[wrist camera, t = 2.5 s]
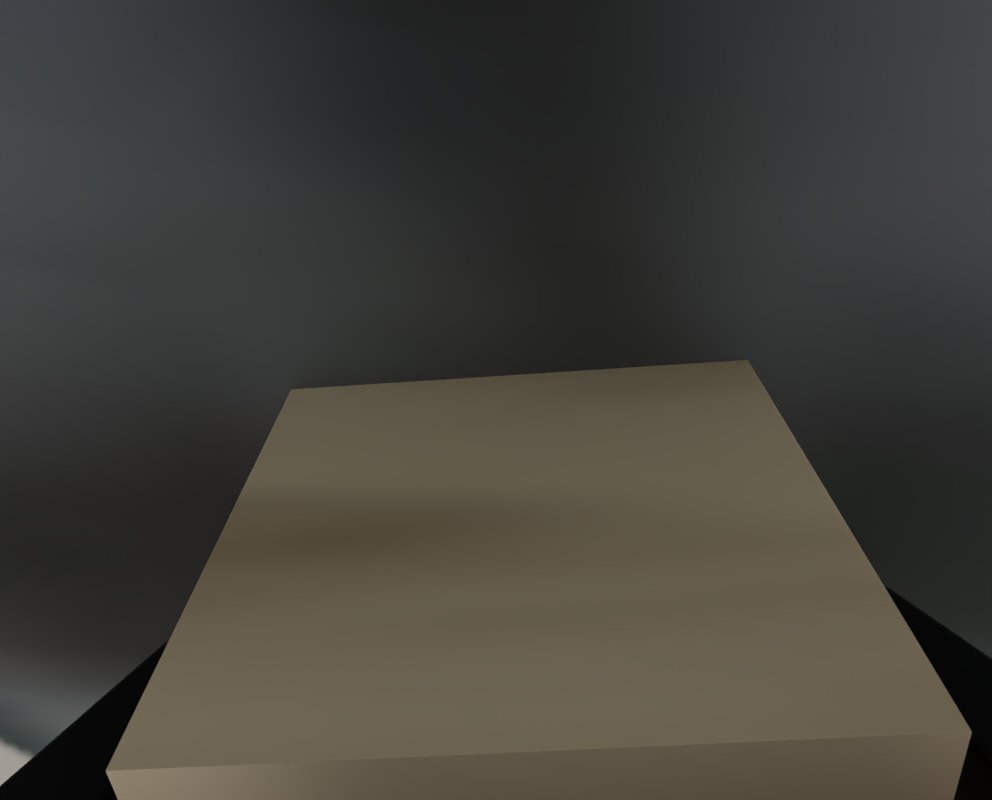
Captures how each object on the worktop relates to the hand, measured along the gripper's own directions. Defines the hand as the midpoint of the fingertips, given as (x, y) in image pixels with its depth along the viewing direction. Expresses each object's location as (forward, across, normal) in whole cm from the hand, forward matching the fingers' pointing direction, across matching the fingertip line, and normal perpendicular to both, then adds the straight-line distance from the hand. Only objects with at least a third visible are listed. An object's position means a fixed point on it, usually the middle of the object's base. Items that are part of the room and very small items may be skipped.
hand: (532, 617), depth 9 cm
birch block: (+1, 0, 0) cm, 1 cm away
